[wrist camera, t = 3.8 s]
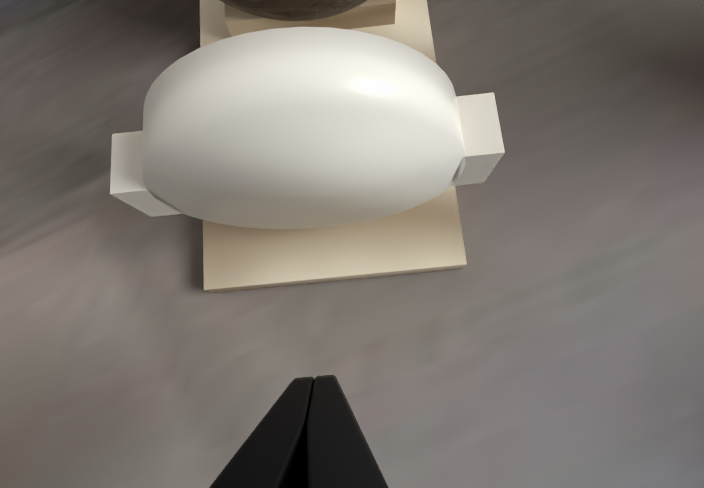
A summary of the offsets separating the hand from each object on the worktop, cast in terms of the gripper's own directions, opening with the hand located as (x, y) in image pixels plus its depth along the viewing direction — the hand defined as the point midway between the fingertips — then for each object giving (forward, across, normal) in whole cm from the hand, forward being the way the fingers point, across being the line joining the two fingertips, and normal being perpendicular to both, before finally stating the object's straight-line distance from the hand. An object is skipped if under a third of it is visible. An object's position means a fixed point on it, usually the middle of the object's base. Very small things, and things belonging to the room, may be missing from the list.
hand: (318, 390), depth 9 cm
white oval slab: (+8, 0, 0) cm, 8 cm away
